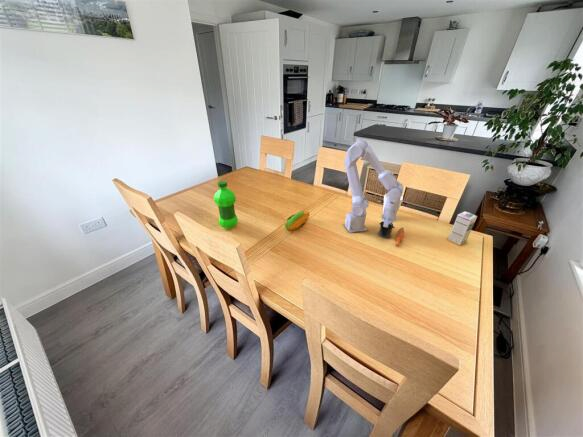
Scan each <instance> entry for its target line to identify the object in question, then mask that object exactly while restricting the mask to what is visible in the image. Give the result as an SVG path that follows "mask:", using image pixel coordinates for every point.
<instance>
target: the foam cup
mask: <svg viewBox="0 0 583 437" xmlns="http://www.w3.org/2000/svg"><path fill="white" fill-rule="evenodd" d="M387 198H388V192H387V193H385V194H384V196H383V205H382V214H383V213H384V209H385V205H386V201H387ZM403 201H404V197H403V195H402V196H401V199H400V203H399V207H398V211H397V213H398V212H399V210H400V207H401V205H402V203H403Z"/></svg>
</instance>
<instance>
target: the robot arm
mask: <svg viewBox="0 0 583 437" xmlns="http://www.w3.org/2000/svg"><path fill="white" fill-rule="evenodd" d="M359 159H360V160H361V161H365V162H368V163H369V165H370V166H371V167H372V169H373V170H374V171H375V172H376V173H377V174H378V176H377V179H378V180H379V182H380V184H382V186H383V187H384V189H385V190H387V193H388V198H387V201H386V205H385V209H384V213H383V212H382V216H381V218H382V221H380V222H379V223H380V224H379V227H380V226H381V230H382V235H383V236H386V235H387V234H388V232H389V230H390V229H391V228H392V227H393V226H394V224H393V222H395V221H399V218H398V217H397V214H398V212H399V210H398V207H399V203H400V199H401V196H402V197H403V193H404V185H403V183H401V182H400V181H399V180H397V179H396V177H395V176H394V175H395V173H394V172H393V171H390V169H386V168H385V167H384V165H383V164H382V162H381V160H379V158H378V156H377V155H376V153H375V152H374V150H373V148H372V147H371V146H370V145H369V144H368V142H367V141H366V140H364V139H358V140H357V141H356V142H354V143H353V144H351V146H349V148H348V149H347V150H346V155H345V158H344V162H343V163H344V164H343V165H344V168H345V172H346V176H347V179H348V180H347V182H348V185H349V188H350V193H351V197H352V199H351V212H348V213H346V214H345V220H344V224H343V225H344V226H345V228H346V229H347V231H348V232H349V233H356V232H357V233H358V232H367V228H366V226H365V223H366V218H367V208H368V207H369V203H370V202H369V200H368V199H367V198H366V194H364V192H363V188H362V184H361V179H360V175H359V174H360V173H359V170H358V166H357V162H358V161H359ZM399 208H400V207H399ZM397 211H398V212H397ZM383 221H384V222H383ZM390 223H392V224H393V225H390ZM392 229H393V228H392Z"/></svg>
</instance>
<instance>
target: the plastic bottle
mask: <svg viewBox="0 0 583 437" xmlns="http://www.w3.org/2000/svg"><path fill="white" fill-rule="evenodd" d="M217 185H218V188H219V189H218V190H217V191H215V193H214V195H213V201H214V203H215V205H216V206H217V208H218V212H219V217H218V224H219V225H220V226H221V227H222V228H224V229H226V230H231V229H233V228H234V227H235V226H237V224H238V223H239V219H238V216H237V214H236V209H235V203H236V199H237V198H236V195H235V192H234V191H233V190H231V189H229V188H227V187H228V181H226V180H219V181H218V182H217Z"/></svg>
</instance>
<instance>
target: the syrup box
mask: <svg viewBox="0 0 583 437" xmlns="http://www.w3.org/2000/svg"><path fill="white" fill-rule="evenodd" d="M477 218H478V215H476V214H474V213H472V212H469V211H462V212H460V213H458V214H457V215H456V219H455V221H454V223H453V226H452V228H451V231H450V233H449V235H448V238H447V240H448V241H449V242H452V243H454V244H456V245H459V246H461V245H462V244H464V243H466V242H467V240H468V238H469V236H470V233H471V232H472V229H473V227H474V225H475V223H476V220H477Z"/></svg>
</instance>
